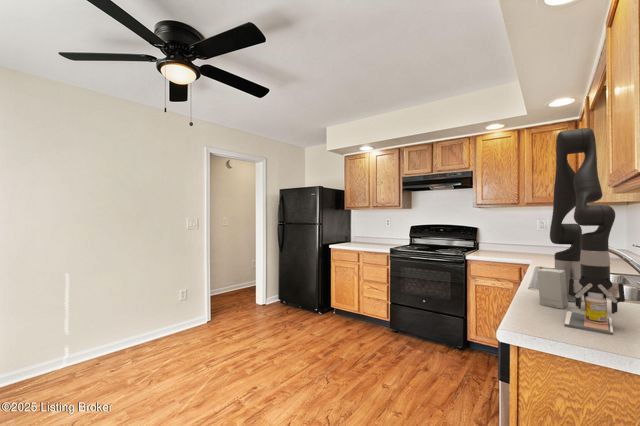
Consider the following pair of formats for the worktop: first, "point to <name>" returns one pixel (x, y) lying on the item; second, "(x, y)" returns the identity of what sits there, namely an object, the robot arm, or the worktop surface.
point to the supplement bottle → (596, 308)
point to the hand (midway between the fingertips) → (595, 310)
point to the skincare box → (552, 288)
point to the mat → (587, 323)
